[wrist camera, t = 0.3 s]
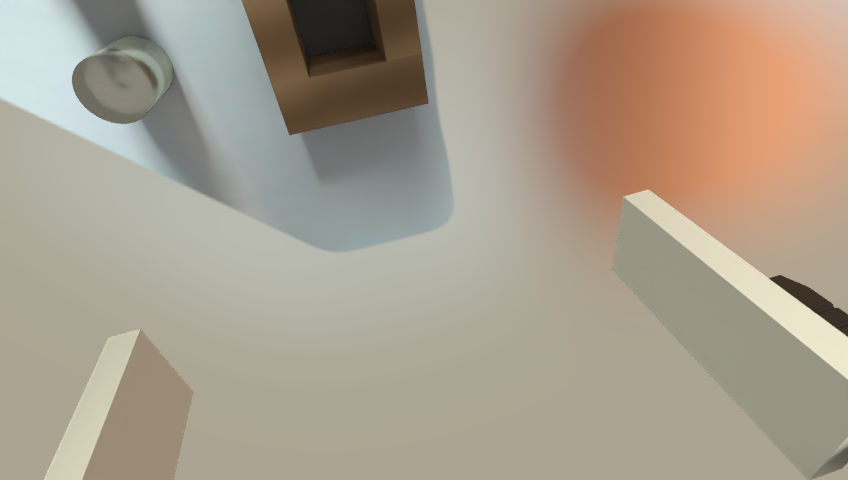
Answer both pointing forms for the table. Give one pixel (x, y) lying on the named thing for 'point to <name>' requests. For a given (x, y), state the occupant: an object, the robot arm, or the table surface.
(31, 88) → the table surface
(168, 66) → the pin short
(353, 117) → the hole block
